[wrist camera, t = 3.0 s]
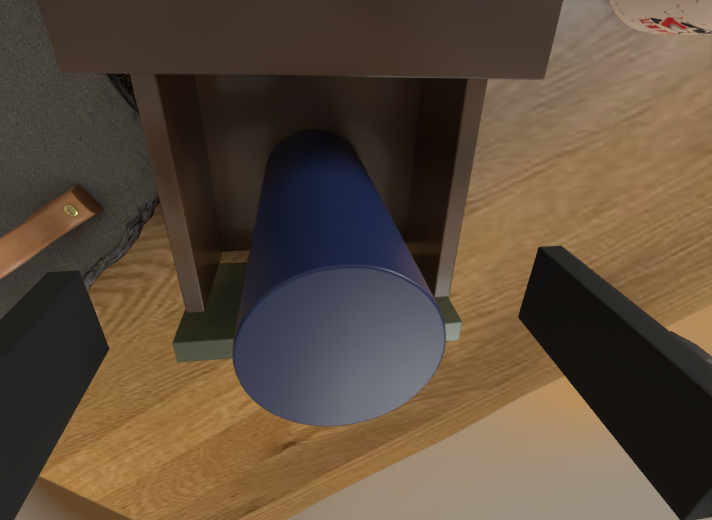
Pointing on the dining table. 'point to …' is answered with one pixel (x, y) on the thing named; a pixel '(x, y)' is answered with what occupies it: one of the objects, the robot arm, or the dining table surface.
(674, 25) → the teacup with lid
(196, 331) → the drawer
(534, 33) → the cabinet
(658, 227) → the dining table surface
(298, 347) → the navy cylinder
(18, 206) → the serving tray
